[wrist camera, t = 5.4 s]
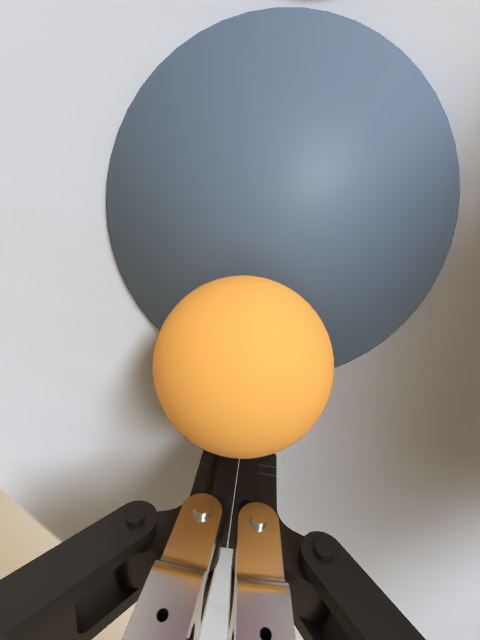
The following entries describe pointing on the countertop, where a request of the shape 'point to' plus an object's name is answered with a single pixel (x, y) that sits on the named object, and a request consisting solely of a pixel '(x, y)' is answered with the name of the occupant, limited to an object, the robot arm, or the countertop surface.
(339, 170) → the blue-gray disc
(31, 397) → the countertop surface
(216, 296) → the ball
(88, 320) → the countertop surface
